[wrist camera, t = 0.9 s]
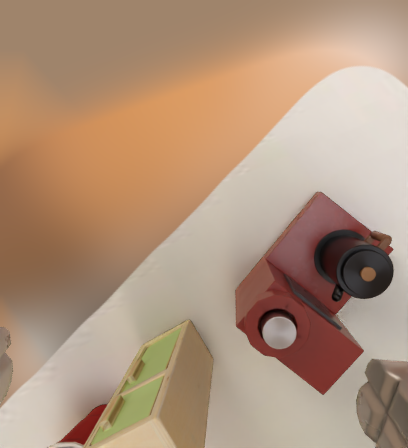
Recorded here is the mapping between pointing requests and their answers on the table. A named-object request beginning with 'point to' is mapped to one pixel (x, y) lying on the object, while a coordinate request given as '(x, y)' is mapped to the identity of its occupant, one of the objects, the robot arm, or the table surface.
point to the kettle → (357, 265)
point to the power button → (278, 329)
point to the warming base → (314, 252)
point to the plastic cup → (81, 430)
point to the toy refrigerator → (160, 396)
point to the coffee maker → (305, 326)
